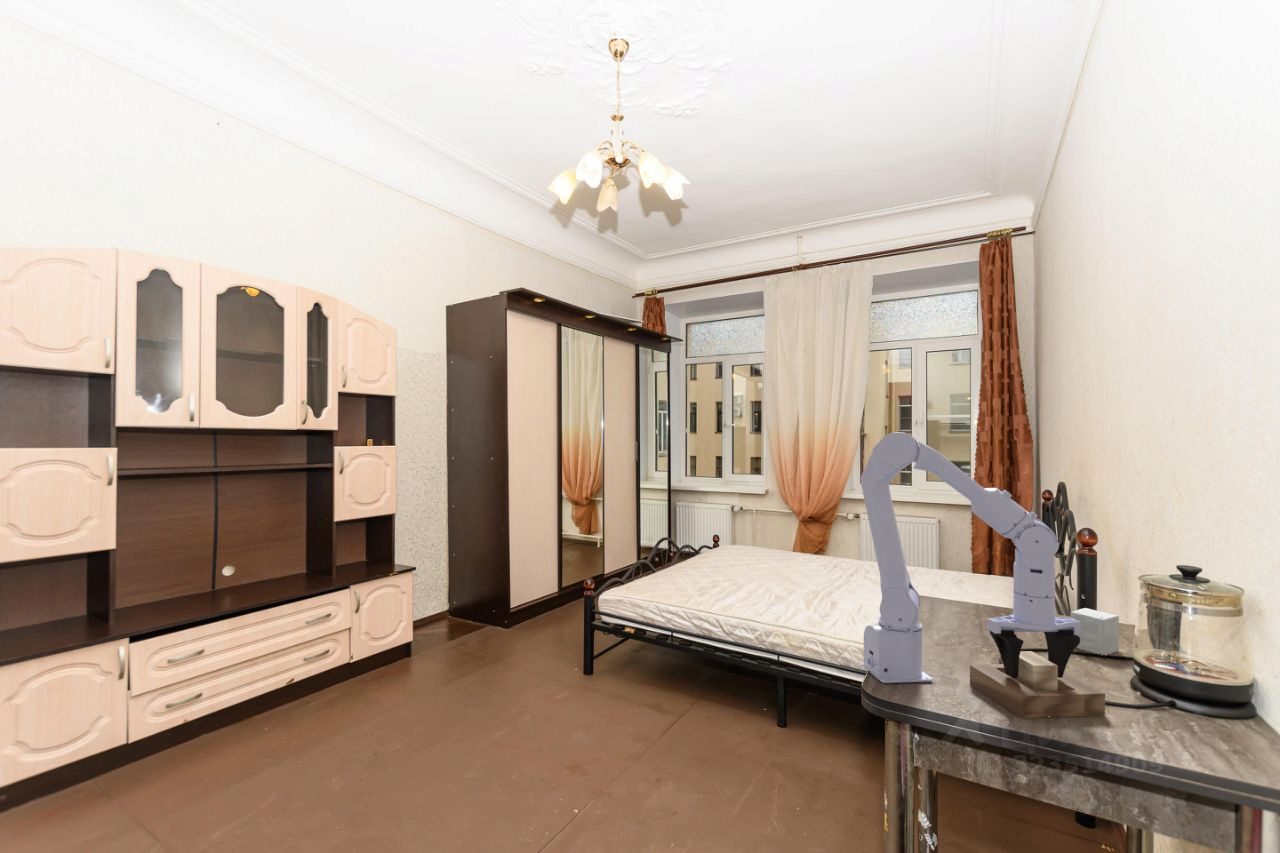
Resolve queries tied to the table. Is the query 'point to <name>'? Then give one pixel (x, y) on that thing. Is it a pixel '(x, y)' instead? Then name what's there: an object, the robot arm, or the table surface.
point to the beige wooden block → (1037, 672)
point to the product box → (1097, 631)
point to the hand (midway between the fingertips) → (1033, 675)
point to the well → (1037, 694)
